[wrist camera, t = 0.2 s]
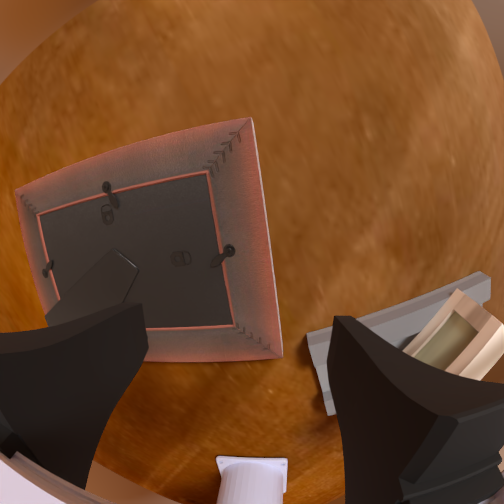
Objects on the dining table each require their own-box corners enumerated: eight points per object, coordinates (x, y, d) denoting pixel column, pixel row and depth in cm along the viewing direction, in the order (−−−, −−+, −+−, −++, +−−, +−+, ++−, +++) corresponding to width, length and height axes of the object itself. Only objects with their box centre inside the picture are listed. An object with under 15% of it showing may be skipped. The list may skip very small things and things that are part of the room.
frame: (470, 305, 17) (513, 340, 12) (371, 407, 20) (387, 458, 15) (456, 287, 17) (502, 323, 11) (352, 396, 20) (366, 451, 14)
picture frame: (73, 343, 25) (282, 341, 22) (60, 355, 22) (282, 359, 20) (30, 187, 21) (253, 123, 18) (13, 189, 18) (250, 116, 16)
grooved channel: (475, 344, 20) (484, 353, 18) (325, 402, 23) (328, 415, 21) (479, 270, 18) (490, 277, 17) (306, 333, 21) (308, 346, 19)
